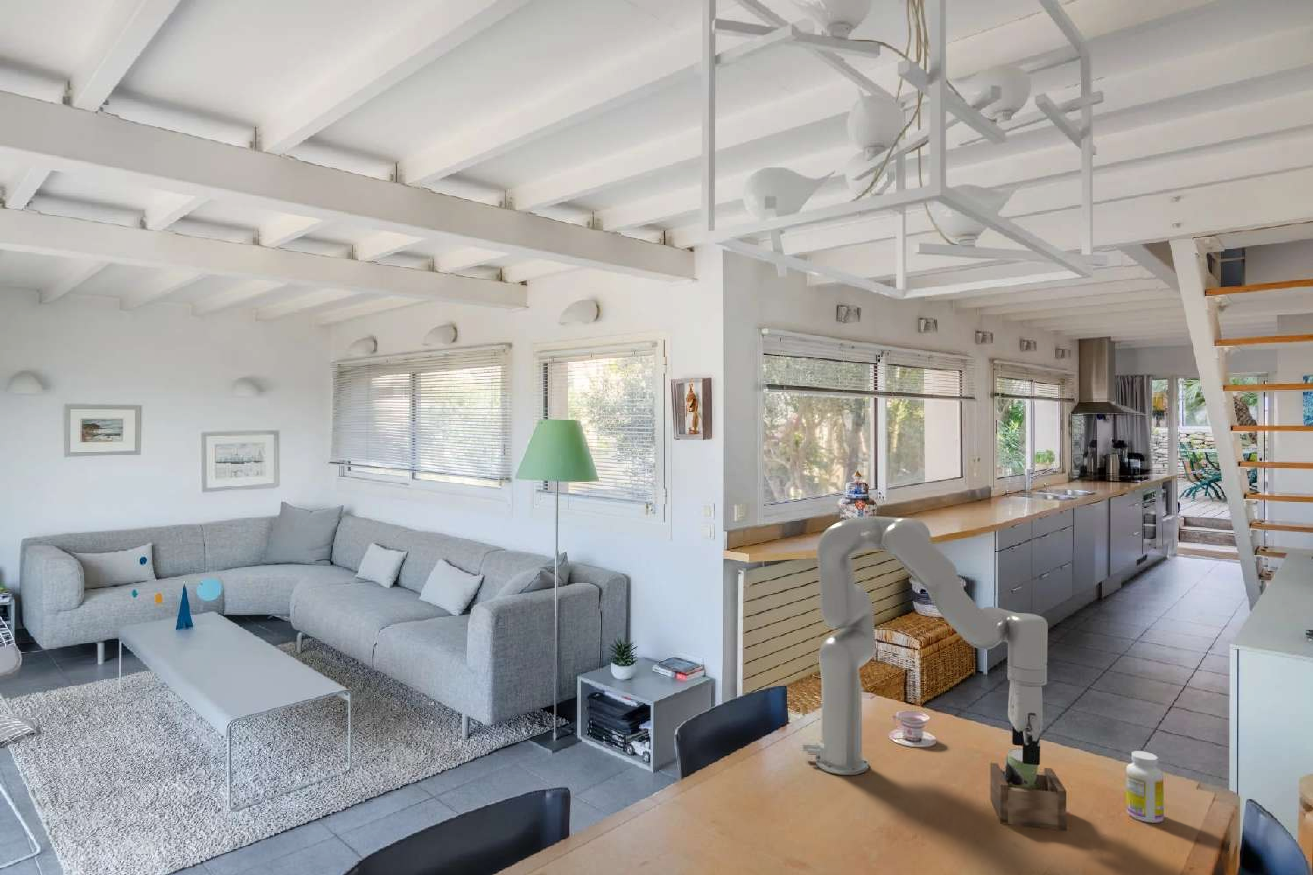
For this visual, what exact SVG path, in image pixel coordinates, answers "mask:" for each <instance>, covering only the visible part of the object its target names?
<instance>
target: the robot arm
mask: <svg viewBox="0 0 1313 875" xmlns="http://www.w3.org/2000/svg"><path fill="white" fill-rule="evenodd" d="M931 538H932V537H931V531H930V530H929V528H928V526H927V525H926V524H925V523H924V522H923V521H922V520H919V519H918V518H917V519H916V518H911V517H891V516H876V515H875V516H874V515H872V516H871V515H864V516H863V515H862V516H857V517H852V518H847V519H844V520H841V521H838V522H836V523H835V524H832V525H831V526H829V527H828V528H827V529H826V530H824V532H823V533H822V534H821V536H820V538H819V540H818V543H817V549H816V550H817V552H816V554H817V557H816V558H817V568H818V582H819V583H818V584H819V586H818V587H819V600H820V601H819V603H820V614H821V617H822V620H823V622H824V624H826V625H827V626H828V627H830V628H832V629H835V630H837V631H838V632H837V633H835V634H832V635H831V636H829V637H828V638H826V639H825V640H824V641H823V643H822V644H821V646H820V648H819V652H818V665H819V672H820V680H821V739H820V742H816V743H815V744H814V743H809V742H808V743H807V742H803V743H802V752H807V755H808V756H815V757H814V761H815V762H814V763H815V764H816V766H817V767H818V768H819V769H821V770H823V771H825V772H828V773H831V774H836V775H840V776H841V775H842V776H855V775H859V774H863V773H865V772H866V771H868V769H869V761H868V758H866V757H865V756H863V691H862V690H863V689H862V683H861V682H862V681H861V678H860V669H861V667H864V665H867V663H869V662H870V661H871V659H872V658H873V657H874V654H875V649H876V636H875V634H876V633H875V621H874V609H873V608H874V607H873V603H872V600H871V597H870V595H869V594H868V592H867V590H865V588H863V587H861V586H860V585H858V584H856V582H855V578H856V577H855V575H856V574H855V568H854V565H853V563H852V557H853V556H854V555H857V554H861V553H866V552H868V551H883V552H888V553H889V554H890V555H891V557H893V558H894V559H895V560H896V561H897V562H898V563H899V564H900V566H902V568H904V570H906V571H907V572H908V573H909V574H910V575H911V576H912V577H913V578H914V579H915V580H916V582H918V583H919V585H920V586H922V588H923V589H924V590H925V591H926V592H927V594H928V597H929V599H930V600H931V601H932V603H933V605H934V607H935V608H936V609H937V611H938V613H939V614H940V615H941V617H942V618H943V620H945V621H946V623H947V624H948V625H949V626H950V627H951V628H952V629H953V630H954V631H955V632H956V633H957V634H958V635H959V636H960V637H961V638H962V639H963V640H964V641H965V642H967V644H969V645H970V646H972V647H974V648H976V649H979V650H984V651H985V650H986V651H987V650H992V649H994V648H995V647H997V646H998V645H999V644H1001V643H1004V642H1006V643H1007V671H1006V672H1007V673H1006V674H1007V680H1008V681H1009V688H1008V689H1009V690H1008V705H1007V717H1008V719H1009V722H1010V723H1011V725H1012V730H1011V732H1012V733H1011V744H1012V745H1014V746H1018V747H1019V746H1020V747H1022V749H1023V755H1022V761H1023V763H1024V764H1031V765H1038V766H1039V765H1040V764H1041V741H1040V740H1041V737H1040V734H1041V733H1042V730H1043V688H1042V686H1043V687H1044V686H1046V685H1047V684H1048V629H1049V628H1048V626H1049V625H1048V621H1047V620H1046V618H1044V617H1043V616H1041V615H1038V614H1035V613H1026V612H1023V613H1021V612H1014V611H1011V610H1006V609H1004V608H1000V607H996V606H985V607H982V608H980V606H978V604H976V603H975V602H974V601H973V599H972V598H971V597H970V596H969V594H967V592H966V591H965V590H964V588H963V586H962V584H961V582H960V580H959V574H958V571H957V567H956V565H955V563H953V562H952V560H950V559H949V558H948V557H947V556H946V555H945V554H944V553H943V552H942V551H941V550H940V549H939V548H938V547H936V545H934V544H933V542H931V541H932V540H931Z"/></svg>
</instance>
